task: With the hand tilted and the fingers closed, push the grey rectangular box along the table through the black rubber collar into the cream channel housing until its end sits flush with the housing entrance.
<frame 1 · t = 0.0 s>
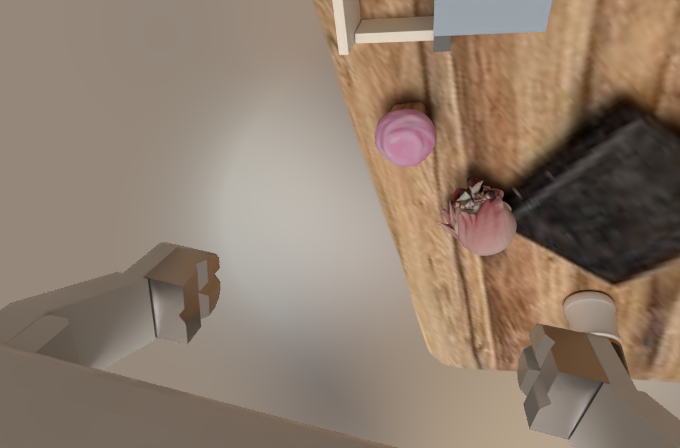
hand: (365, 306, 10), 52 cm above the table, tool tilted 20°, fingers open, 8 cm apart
vodka: (587, 301, 85), on the table
cupcake: (409, 114, 64), on the table
grey rectangular box: (489, 0, 47), point 4 cm above the table, slide at 0.0 cm
toy: (474, 197, 73), on the table
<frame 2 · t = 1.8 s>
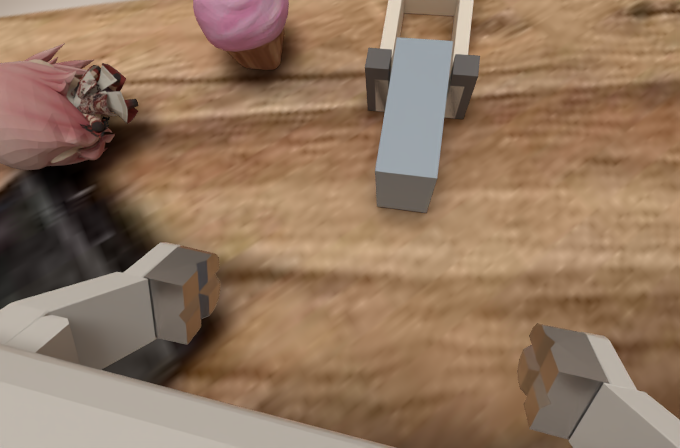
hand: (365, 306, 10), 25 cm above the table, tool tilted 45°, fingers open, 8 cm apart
housing: (423, 55, 42), on the table
cupcake: (262, 55, 44), on the table
grey rectangular box: (412, 129, 35), point 4 cm above the table, slide at 0.0 cm
toy: (91, 132, 44), on the table
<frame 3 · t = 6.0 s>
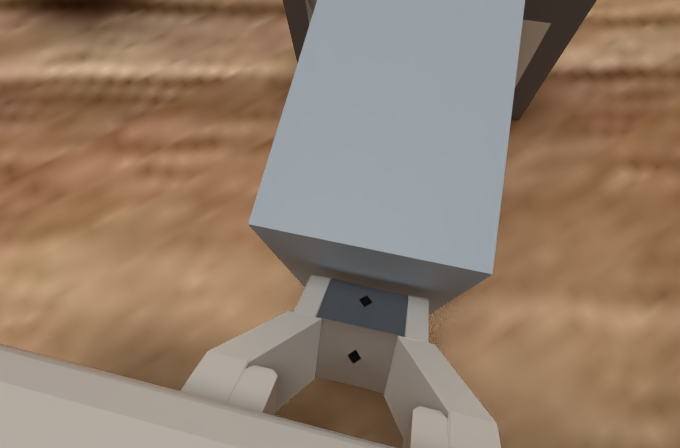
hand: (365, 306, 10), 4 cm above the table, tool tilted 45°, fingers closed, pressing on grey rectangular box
grey rectangular box: (404, 98, 13), point 4 cm above the table, slide at 1.3 cm, touching gripper
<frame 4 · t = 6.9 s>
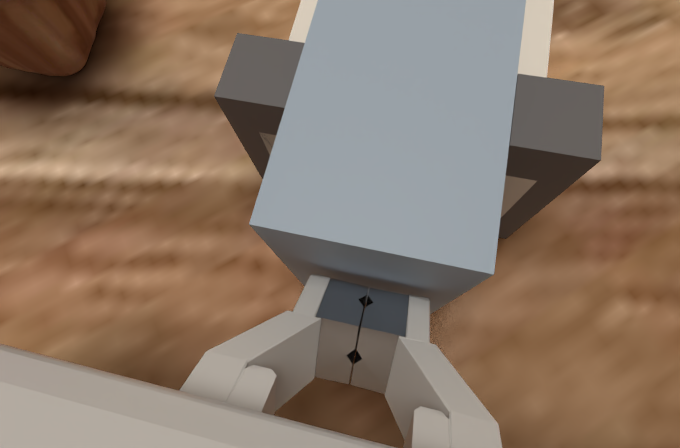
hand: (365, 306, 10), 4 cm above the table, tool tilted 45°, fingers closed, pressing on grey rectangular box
housing: (414, 67, 18), on the table
cupcake: (59, 42, 20), on the table
grey rectangular box: (405, 97, 13), point 4 cm above the table, slide at 6.6 cm, touching gripper
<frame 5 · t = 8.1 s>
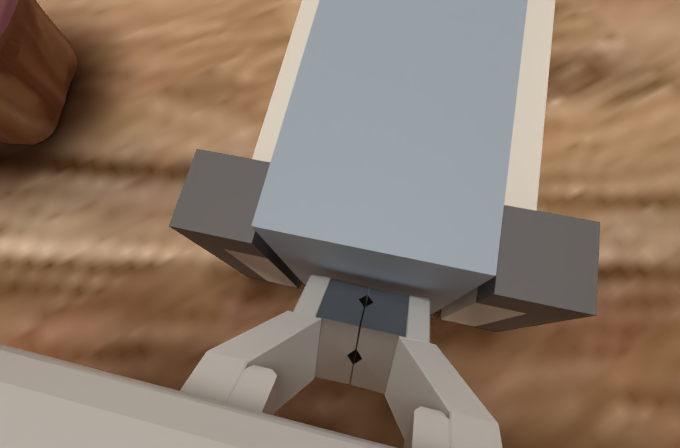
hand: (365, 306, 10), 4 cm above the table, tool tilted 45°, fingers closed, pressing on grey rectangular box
housing: (401, 136, 17), on the table
cupcake: (29, 103, 19), on the table
grey rectangular box: (406, 98, 13), point 4 cm above the table, slide at 10.0 cm, touching gripper
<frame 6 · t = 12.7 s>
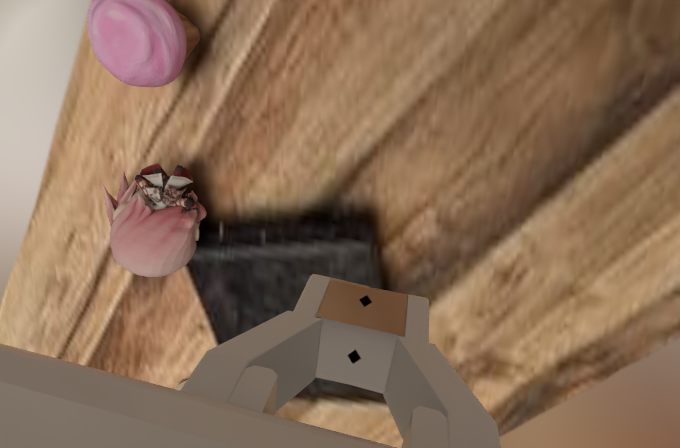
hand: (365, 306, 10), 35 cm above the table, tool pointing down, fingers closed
cupcake: (178, 35, 44), on the table
toy: (175, 200, 53), on the table
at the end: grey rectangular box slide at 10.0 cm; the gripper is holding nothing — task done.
